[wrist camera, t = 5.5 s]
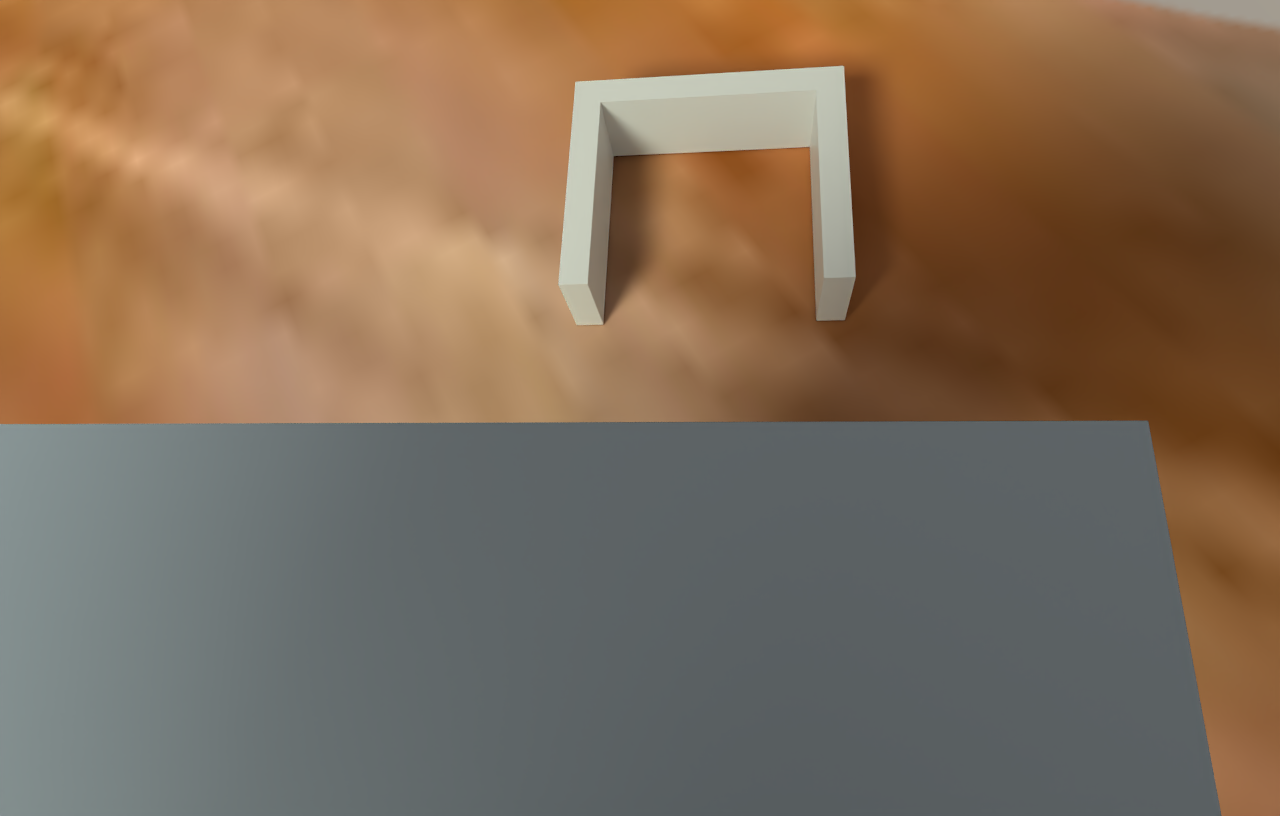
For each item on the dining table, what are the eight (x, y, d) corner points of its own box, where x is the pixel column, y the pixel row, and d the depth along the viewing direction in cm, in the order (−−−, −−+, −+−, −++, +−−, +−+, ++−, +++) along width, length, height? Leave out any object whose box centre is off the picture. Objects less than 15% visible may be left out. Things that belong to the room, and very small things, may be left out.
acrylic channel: (844, 320, 23) (855, 277, 20) (577, 324, 24) (558, 284, 22) (834, 124, 25) (843, 65, 23) (590, 136, 26) (575, 81, 24)
